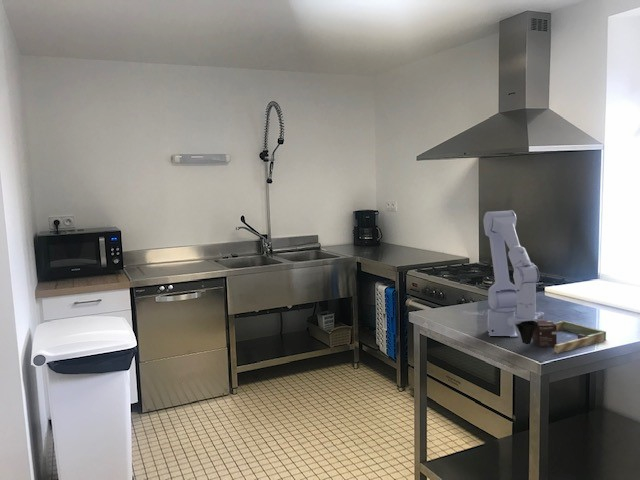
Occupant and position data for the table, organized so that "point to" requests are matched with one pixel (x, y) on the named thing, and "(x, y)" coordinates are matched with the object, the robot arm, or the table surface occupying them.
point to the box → (545, 334)
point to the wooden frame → (591, 338)
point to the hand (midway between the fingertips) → (526, 343)
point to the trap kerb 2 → (581, 336)
